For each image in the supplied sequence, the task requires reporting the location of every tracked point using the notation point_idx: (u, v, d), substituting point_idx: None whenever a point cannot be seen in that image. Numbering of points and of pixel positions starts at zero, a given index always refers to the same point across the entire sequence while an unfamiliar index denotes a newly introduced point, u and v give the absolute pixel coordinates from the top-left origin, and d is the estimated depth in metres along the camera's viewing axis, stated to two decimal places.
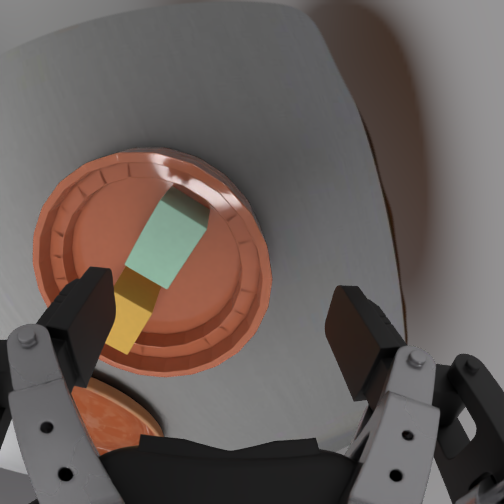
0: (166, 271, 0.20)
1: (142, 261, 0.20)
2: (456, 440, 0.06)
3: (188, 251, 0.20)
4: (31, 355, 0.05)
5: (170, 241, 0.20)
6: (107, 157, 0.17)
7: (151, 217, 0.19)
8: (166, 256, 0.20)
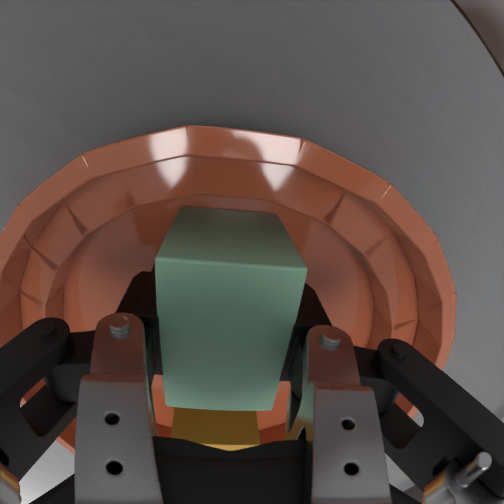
0: (255, 387, 0.09)
1: (196, 391, 0.09)
2: (400, 425, 0.07)
3: (285, 336, 0.08)
4: (119, 344, 0.06)
5: (233, 335, 0.08)
6: (9, 223, 0.06)
7: (159, 306, 0.07)
8: (239, 365, 0.08)
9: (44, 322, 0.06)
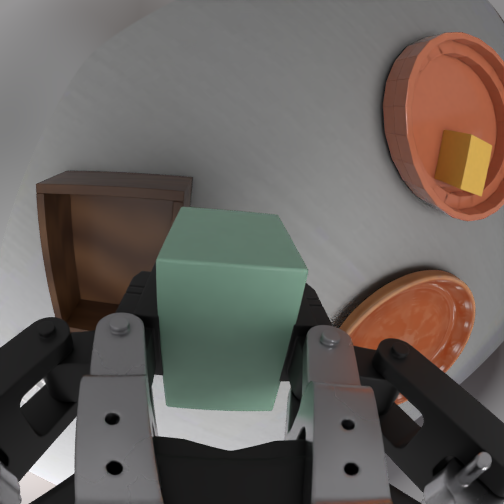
0: (256, 387, 0.09)
1: (196, 391, 0.09)
2: (400, 425, 0.07)
3: (285, 336, 0.08)
4: (120, 344, 0.06)
5: (234, 336, 0.08)
6: (441, 35, 0.17)
7: (160, 307, 0.07)
8: (240, 365, 0.08)
9: (44, 322, 0.06)
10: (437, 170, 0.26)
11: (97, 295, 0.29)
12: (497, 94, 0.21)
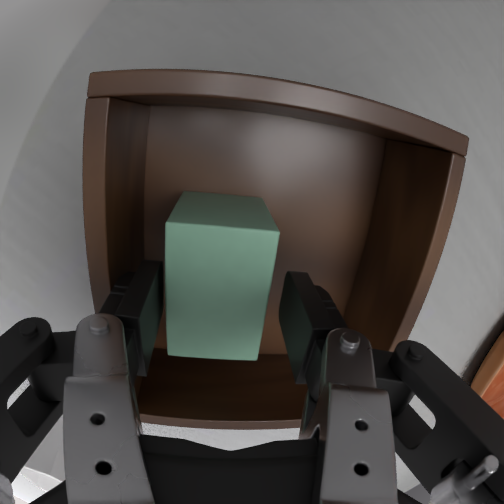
0: (242, 335, 0.11)
1: (193, 338, 0.11)
2: (413, 427, 0.06)
3: (264, 287, 0.10)
4: (100, 345, 0.06)
5: (223, 286, 0.10)
6: None
7: (167, 261, 0.10)
8: (228, 313, 0.11)
9: (26, 323, 0.06)
10: None
11: None
12: None
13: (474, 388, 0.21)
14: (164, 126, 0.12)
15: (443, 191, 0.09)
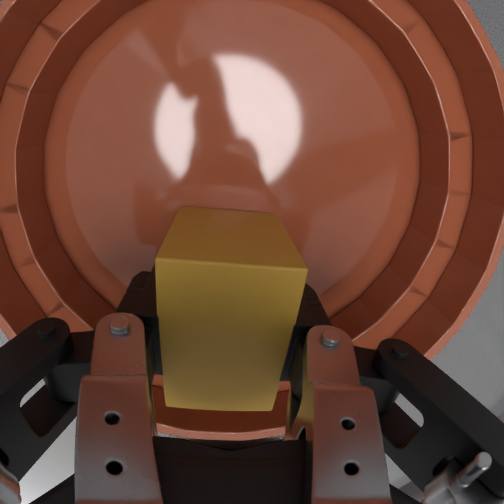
0: None
1: None
2: (400, 425, 0.07)
3: None
4: (119, 344, 0.06)
5: None
6: None
7: None
8: None
9: (44, 322, 0.06)
10: None
11: None
12: (405, 48, 0.07)
13: None
14: None
15: None
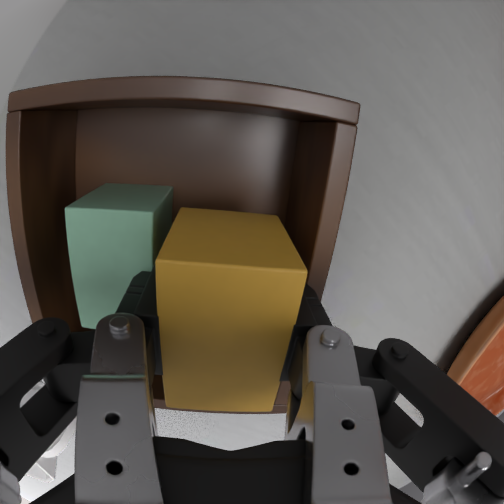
0: None
1: (98, 312, 0.11)
2: (400, 425, 0.07)
3: (147, 265, 0.11)
4: (119, 344, 0.06)
5: (113, 263, 0.11)
6: None
7: (68, 241, 0.10)
8: (121, 289, 0.11)
9: (44, 322, 0.06)
10: None
11: None
12: None
13: None
14: (89, 127, 0.12)
15: (330, 164, 0.09)
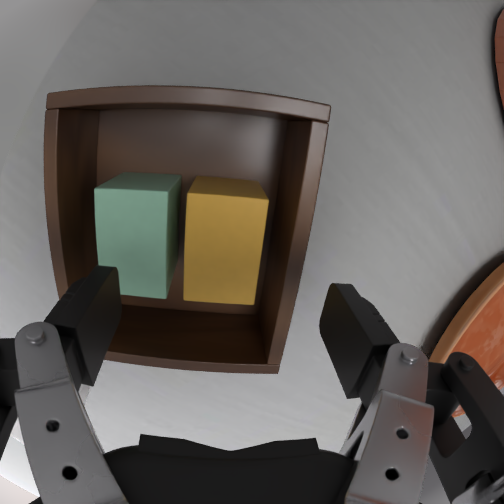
0: (151, 275, 0.14)
1: None
2: (451, 438, 0.06)
3: (161, 235, 0.13)
4: (39, 353, 0.05)
5: (133, 233, 0.13)
6: None
7: (96, 216, 0.13)
8: (139, 256, 0.14)
9: None
10: None
11: None
12: None
13: None
14: (109, 124, 0.15)
15: (307, 153, 0.12)
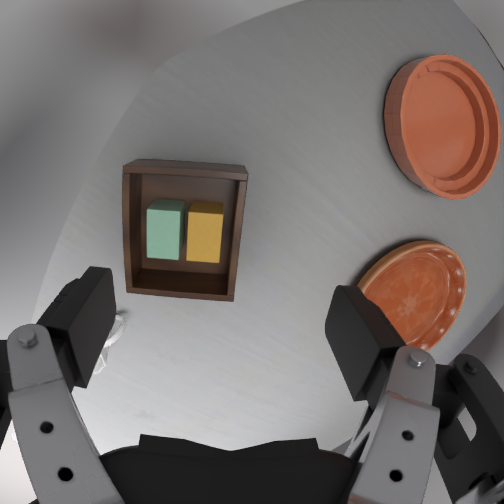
0: (172, 248, 0.32)
1: (155, 249, 0.32)
2: (456, 440, 0.06)
3: (177, 230, 0.31)
4: (31, 356, 0.05)
5: (164, 229, 0.31)
6: (428, 58, 0.25)
7: (147, 221, 0.30)
8: (166, 239, 0.31)
9: None
10: None
11: (157, 263, 0.37)
12: (475, 100, 0.30)
13: None
14: (148, 174, 0.33)
15: (238, 195, 0.30)
